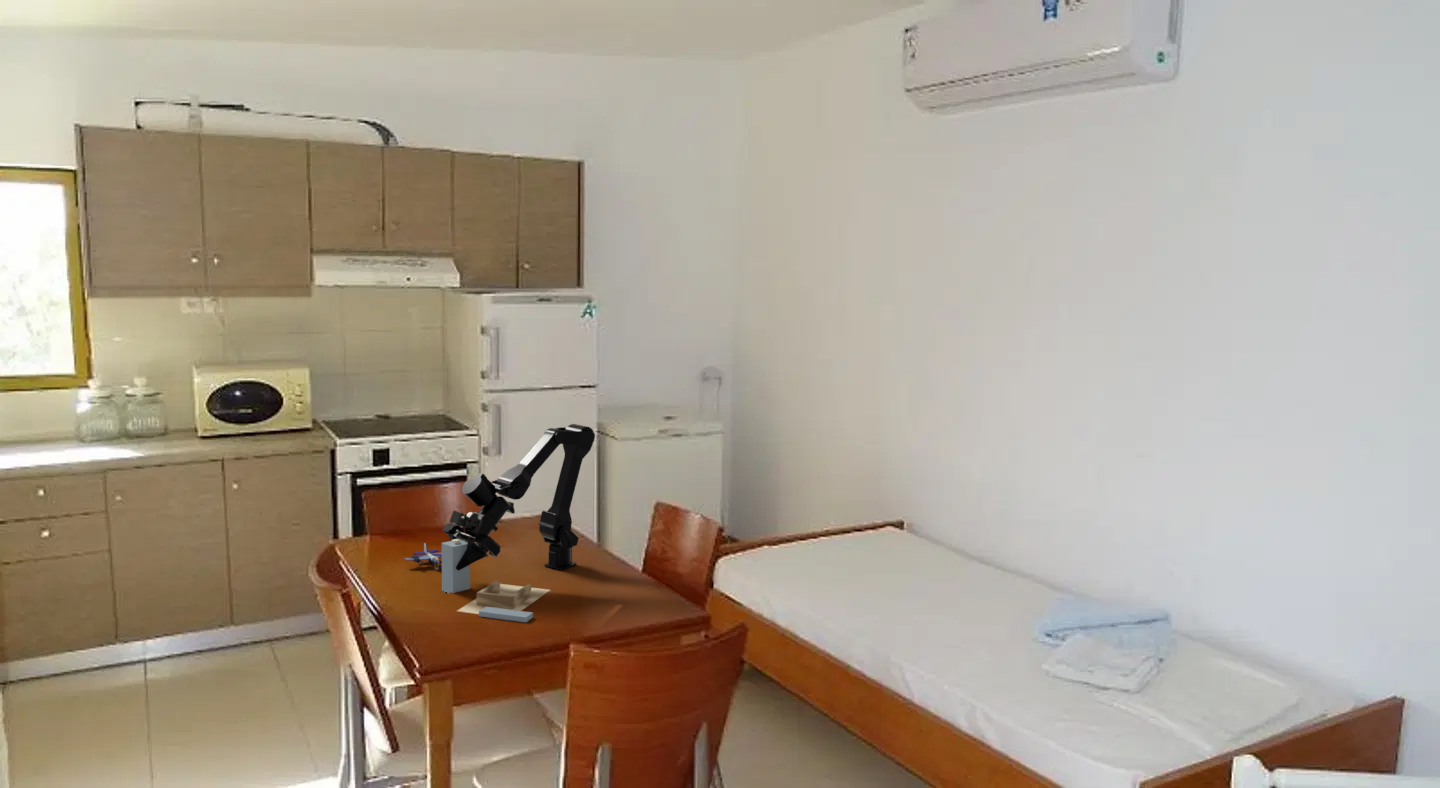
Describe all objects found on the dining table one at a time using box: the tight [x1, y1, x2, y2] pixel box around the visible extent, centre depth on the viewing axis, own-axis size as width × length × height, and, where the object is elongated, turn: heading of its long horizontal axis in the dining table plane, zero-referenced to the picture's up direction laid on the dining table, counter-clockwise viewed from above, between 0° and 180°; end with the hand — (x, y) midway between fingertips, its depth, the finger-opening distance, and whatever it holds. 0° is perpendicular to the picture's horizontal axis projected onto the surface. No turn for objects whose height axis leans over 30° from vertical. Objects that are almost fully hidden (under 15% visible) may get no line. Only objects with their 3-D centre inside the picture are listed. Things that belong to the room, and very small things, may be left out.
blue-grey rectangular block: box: [441, 539, 471, 594], centre depth 259 cm, size 5×5×13 cm
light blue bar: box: [478, 607, 534, 623], centre depth 240 cm, size 12×4×1 cm, turn 75°
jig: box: [456, 580, 551, 615], centre depth 252 cm, size 22×14×4 cm, turn 165°
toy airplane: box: [404, 542, 442, 571], centre depth 280 cm, size 13×14×4 cm
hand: (451, 567), depth 258 cm, fingers closed on blue-grey rectangular block, 5 cm apart
